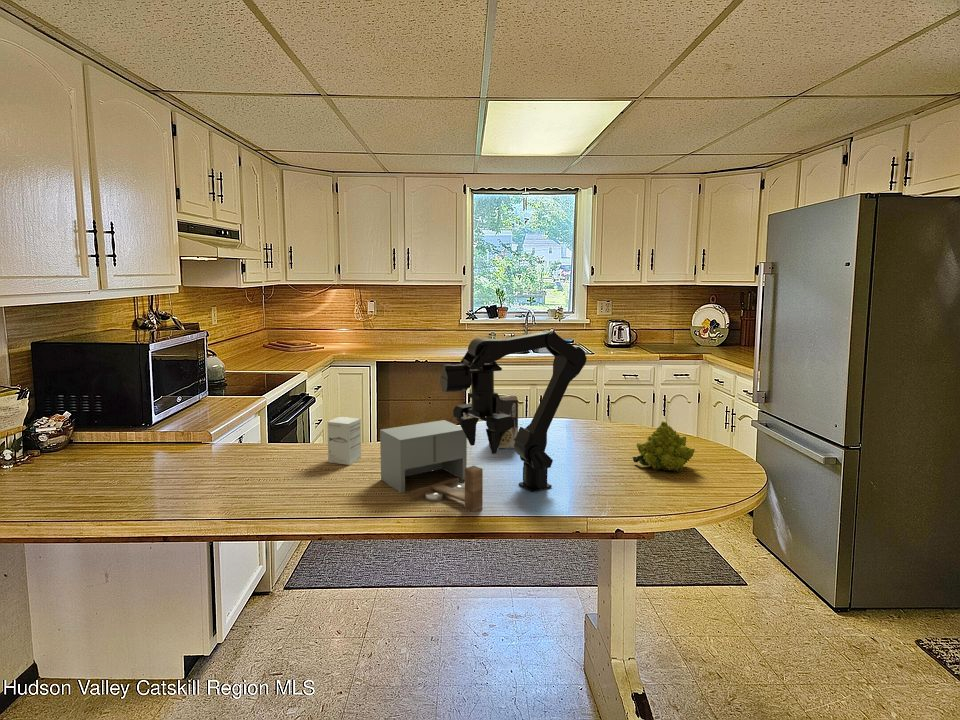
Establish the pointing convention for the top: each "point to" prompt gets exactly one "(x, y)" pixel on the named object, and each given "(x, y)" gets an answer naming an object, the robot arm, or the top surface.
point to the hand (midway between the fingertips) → (483, 449)
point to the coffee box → (511, 434)
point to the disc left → (433, 495)
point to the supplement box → (344, 440)
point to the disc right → (458, 486)
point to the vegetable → (664, 450)
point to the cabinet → (421, 451)
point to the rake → (470, 496)
